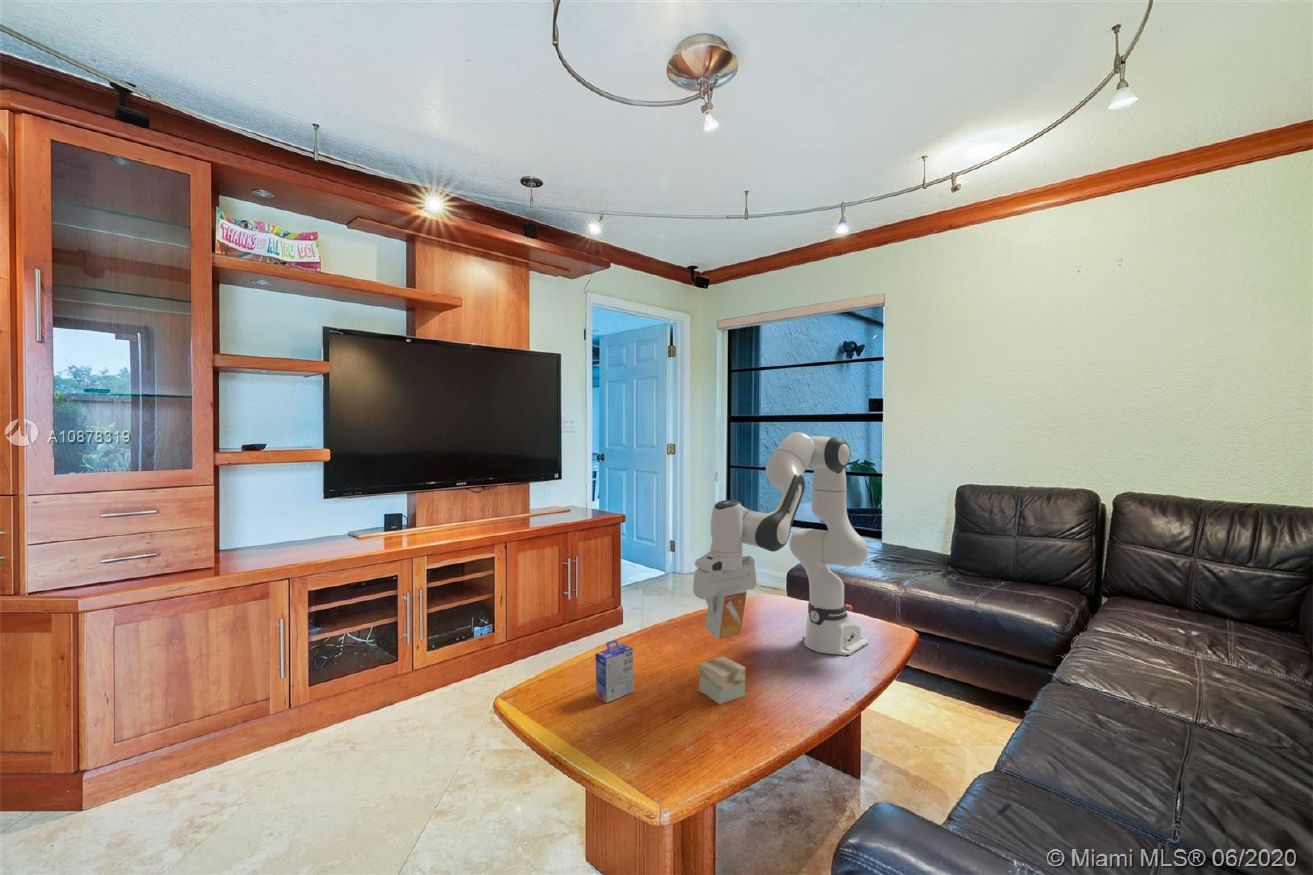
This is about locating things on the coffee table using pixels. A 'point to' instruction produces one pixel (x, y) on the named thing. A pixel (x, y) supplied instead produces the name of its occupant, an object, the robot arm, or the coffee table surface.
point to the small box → (727, 614)
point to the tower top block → (722, 673)
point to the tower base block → (722, 692)
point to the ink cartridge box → (614, 672)
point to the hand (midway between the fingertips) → (725, 609)
